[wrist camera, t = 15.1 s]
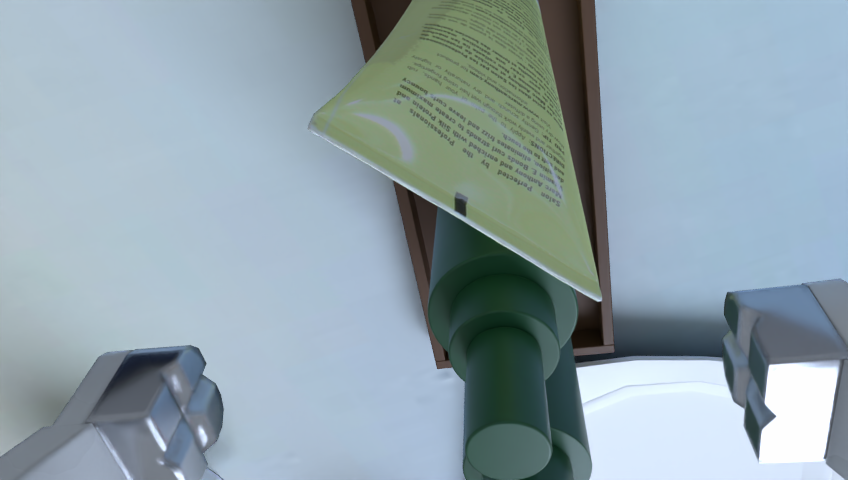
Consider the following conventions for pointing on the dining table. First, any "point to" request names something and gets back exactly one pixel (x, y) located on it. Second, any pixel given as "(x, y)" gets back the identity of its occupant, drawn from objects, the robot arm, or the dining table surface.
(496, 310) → the bottle
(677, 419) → the plate
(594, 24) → the tray
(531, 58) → the tube
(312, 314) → the dining table surface
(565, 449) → the bottle
